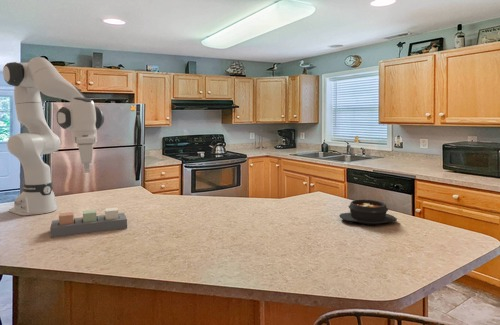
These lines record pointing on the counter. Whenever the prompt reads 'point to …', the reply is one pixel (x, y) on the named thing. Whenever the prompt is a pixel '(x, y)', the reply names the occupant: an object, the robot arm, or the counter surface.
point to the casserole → (368, 212)
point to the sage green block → (89, 216)
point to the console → (87, 226)
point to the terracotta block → (66, 218)
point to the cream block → (111, 213)
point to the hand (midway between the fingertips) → (87, 172)
